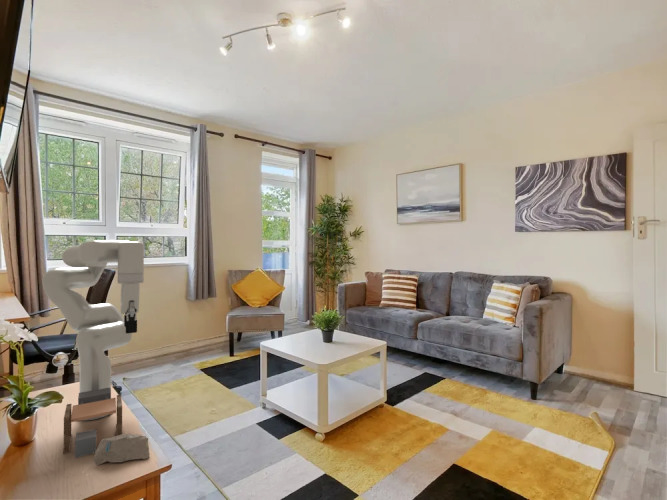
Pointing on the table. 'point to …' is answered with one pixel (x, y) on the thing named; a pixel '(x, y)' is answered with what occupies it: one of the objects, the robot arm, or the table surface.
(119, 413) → the frame
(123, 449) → the concrete fragment
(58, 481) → the table surface
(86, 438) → the slate block
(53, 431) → the table surface
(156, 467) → the table surface
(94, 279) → the robot arm
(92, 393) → the trapdoor
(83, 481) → the table surface
